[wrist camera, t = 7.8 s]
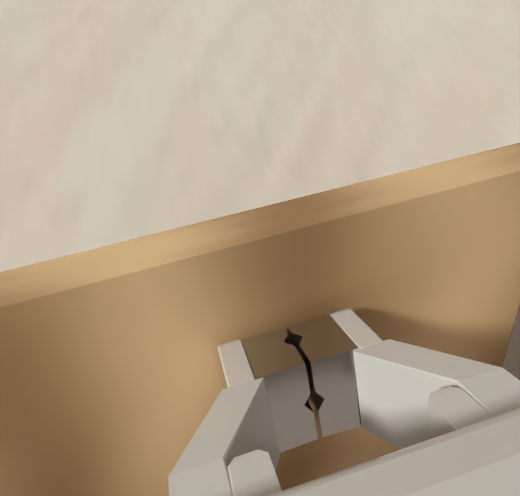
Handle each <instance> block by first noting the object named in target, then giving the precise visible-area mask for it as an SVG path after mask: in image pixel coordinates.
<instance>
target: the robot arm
mask: <svg viewBox="0 0 520 496" xmlns="http://www.w3.org/2000/svg"><path fill="white" fill-rule="evenodd" d="M218 352H219V356H220V360H221V364H222V368H223V372H224V376H225V381H226V385H227V388H226V389H223V390H222V391H221V392H220V394H219V395H218V397H217V399H216V400H215V402H214V403H213V405H212V407H211V408H210V410H209V412H208V413H207V415H206V416H205V418H204V420H203V421H202V423H201V425H200V426H199V428H198V429H197V431H196V433H195V434H194V436H193V438H192V439H191V441H190V442H189V444H188V446H187V447H186V449H185V451H184V452H183V454H182V455H181V457H180V459H179V460H178V462H177V463H176V465H175V467H174V468H173V470H172V472H171V473H170V475H169V476H168V482H169V496H520V380H519V379H517V378H516V377H515V376H513V375H512V374H511V373H509V372H508V371H507V370H505V369H504V368H502V367H498V366H494V365H490V364H486V363H482V362H478V361H474V360H470V359H466V358H462V357H458V356H454V355H450V354H447V353H443V352H439V351H435V350H431V349H427V348H423V347H419V346H415V345H411V344H407V343H403V342H399V341H395V340H391V339H388V340H385V341H383V340H382V339H381V338H380V337H379V336H378V335H377V334H376V333H375V332H374V331H373V330H372V329H371V328H370V327H369V326H368V325H366V324H365V323H364V322H363V321H362V320H361V319H360V318H359V317H358V316H357V315H356V314H355V313H354V312H353V311H352V310H351V309H348V308H346V309H343V310H340V311H337V312H334V313H331V314H327V315H324V316H321V317H318V318H315V319H311V320H308V321H305V322H302V323H299V324H295V325H292V326H289V327H287V328H286V331H285V329H284V328H280V329H277V330H273V331H269V332H265V333H261V334H258V335H254V336H250V337H246V338H242V339H240V340H239V339H237V340H234V341H231V342H227V343H224V344H221V345H218ZM316 426H317V427H318V429H319V431H320V433H321V435H322V437H326V436H329V435H333V434H336V433H339V432H342V431H346V430H349V429H352V428H356V427H359V426H362V428H364V429H365V430H367V431H369V432H370V433H372V434H374V435H376V436H377V437H379V438H381V439H383V440H384V441H386V442H388V443H390V444H391V445H393V446H395V447H397V448H398V449H400V450H398V451H395V452H392V453H389V454H386V455H384V456H381V457H378V458H375V459H372V460H369V461H366V462H364V463H361V464H358V465H355V466H352V467H349V468H346V469H343V470H341V471H338V472H335V473H332V474H329V475H326V476H323V477H320V478H318V479H315V480H312V481H309V482H306V483H303V484H300V485H297V486H295V487H292V488H289V489H286V490H283V491H282V489H281V487H280V484H279V481H278V478H277V475H276V473H275V472H276V469H277V465H278V461H279V457H280V453H281V452H284V451H287V450H289V449H292V448H295V447H297V446H300V445H303V444H306V443H308V442H311V441H314V440H317V439H318V436H317V430H316Z"/></svg>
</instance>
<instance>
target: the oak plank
mask: <svg viewBox="0 0 520 496" xmlns="http://www.w3.org/2000/svg"><path fill="white" fill-rule="evenodd" d="M519 305H520V143H517V144H513V145H509V146H505V147H501V148H497V149H493V150H489V151H485V152H481V153H477V154H473V155H469V156H465V157H461V158H457V159H453V160H449V161H445V162H441V163H437V164H433V165H429V166H425V167H421V168H417V169H413V170H409V171H405V172H401V173H397V174H393V175H389V176H385V177H381V178H377V179H373V180H369V181H365V182H361V183H357V184H353V185H349V186H345V187H341V188H337V189H333V190H329V191H325V192H321V193H317V194H313V195H309V196H305V197H301V198H297V199H292V200H288V201H284V202H280V203H276V204H272V205H268V206H264V207H260V208H256V209H252V210H248V211H244V212H240V213H236V214H232V215H228V216H224V217H220V218H216V219H212V220H208V221H204V222H200V223H196V224H192V225H188V226H184V227H180V228H176V229H172V230H168V231H164V232H160V233H156V234H152V235H148V236H144V237H140V238H136V239H132V240H128V241H124V242H120V243H116V244H112V245H108V246H104V247H100V248H96V249H92V250H88V251H84V252H80V253H76V254H72V255H68V256H64V257H60V258H56V259H52V260H48V261H44V262H40V263H36V264H32V265H28V266H24V267H20V268H16V269H12V270H8V271H4V272H0V496H169V482H168V476H169V475H170V473H171V472H172V470H173V468H174V467H175V465H176V463H177V462H178V460H179V459H180V457H181V455H182V454H183V452H184V451H185V449H186V447H187V446H188V444H189V442H190V441H191V439H192V438H193V436H194V434H195V433H196V431H197V429H198V428H199V426H200V425H201V423H202V421H203V420H204V418H205V416H206V415H207V413H208V412H209V410H210V408H211V407H212V405H213V403H214V402H215V400H216V399H217V397H218V395H219V394H220V392H221V391H222V390H223V389H226V388H227V385H226V381H225V376H224V372H223V368H222V364H221V360H220V356H219V352H218V345H221V344H224V343H227V342H231V341H234V340H237V339H239V340H240V339H242V338H246V337H250V336H254V335H258V334H261V333H265V332H269V331H273V330H277V329H280V328H284V329H285V331H286V328H287V327H289V326H292V325H295V324H299V323H302V322H305V321H308V320H311V319H315V318H318V317H321V316H324V315H327V314H331V313H334V312H337V311H340V310H343V309H346V308H348V309H351V310H352V311H353V312H354V313H355V314H356V315H357V316H358V317H359V318H360V319H361V320H362V321H363V322H364V323H365V324H366V325H368V326H369V327H370V328H371V329H372V330H373V331H374V332H375V333H376V334H377V335H378V336H379V337H380V338H381V339H382V340H383V341H385V340H388V339H391V340H395V341H399V342H403V343H407V344H411V345H415V346H419V347H423V348H427V349H431V350H435V351H439V352H443V353H447V354H450V355H454V356H458V357H462V358H466V359H470V360H474V361H478V362H482V363H486V364H490V365H494V366H498V367H502V364H503V361H504V357H505V354H506V350H507V347H508V343H509V340H510V336H511V333H512V329H513V326H514V322H515V319H516V315H517V312H518V309H519ZM316 430H317V436H318V439H317V440H314V441H311V442H308V443H306V444H303V445H300V446H297V447H295V448H292V449H289V450H287V451H284V452H281V453H280V457H279V461H278V465H277V469H276V472H275V473H276V475H277V478H278V481H279V484H280V487H281V489H282V491H283V490H286V489H289V488H292V487H295V486H297V485H300V484H303V483H306V482H309V481H312V480H315V479H318V478H320V477H323V476H326V475H329V474H332V473H335V472H338V471H341V470H343V469H346V468H349V467H352V466H355V465H358V464H361V463H364V462H366V461H369V460H372V459H375V458H378V457H381V456H384V455H386V454H389V453H392V452H395V451H398V450H400V449H398V448H397V447H395V446H393V445H391V444H390V443H388V442H386V441H384V440H383V439H381V438H379V437H377V436H376V435H374V434H372V433H370V432H369V431H367V430H365V429H364V428H362V426H359V427H356V428H352V429H349V430H346V431H342V432H339V433H336V434H333V435H329V436H326V437H322V435H321V433H320V431H319V429H318V427H317V426H316Z"/></svg>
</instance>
